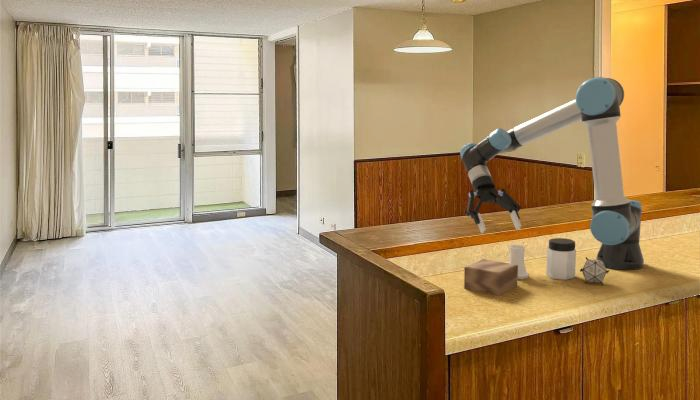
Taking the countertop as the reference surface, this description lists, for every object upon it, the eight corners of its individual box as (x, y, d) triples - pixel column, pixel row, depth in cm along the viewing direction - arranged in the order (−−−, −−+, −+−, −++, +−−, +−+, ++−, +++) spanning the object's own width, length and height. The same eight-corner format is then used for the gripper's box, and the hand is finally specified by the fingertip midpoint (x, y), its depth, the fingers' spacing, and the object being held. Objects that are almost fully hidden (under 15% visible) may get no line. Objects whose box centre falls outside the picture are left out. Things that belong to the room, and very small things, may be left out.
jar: (562, 281, 190) (563, 245, 188) (541, 275, 197) (542, 240, 195) (579, 276, 195) (581, 241, 193) (558, 271, 202) (560, 236, 200)
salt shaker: (531, 278, 194) (532, 249, 192) (509, 279, 193) (509, 249, 192) (523, 272, 201) (524, 243, 200) (501, 273, 201) (502, 244, 199)
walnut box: (517, 286, 187) (517, 264, 186) (499, 296, 178) (500, 273, 177) (482, 279, 194) (483, 258, 193) (464, 289, 185) (464, 266, 184)
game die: (596, 293, 190) (615, 267, 190) (598, 291, 182) (618, 265, 182) (571, 276, 193) (590, 251, 193) (572, 274, 186) (591, 248, 185)
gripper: (508, 185, 222) (529, 232, 210) (446, 188, 216) (464, 238, 204) (516, 172, 216) (538, 221, 205) (453, 176, 210) (472, 226, 198)
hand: (501, 229), depth 204 cm, fingers open, 13 cm apart
